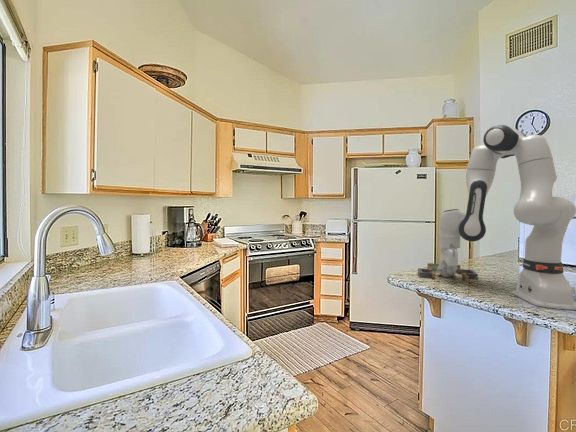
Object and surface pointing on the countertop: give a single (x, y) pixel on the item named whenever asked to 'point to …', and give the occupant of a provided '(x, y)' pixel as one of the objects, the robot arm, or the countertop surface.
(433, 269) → the trap lane
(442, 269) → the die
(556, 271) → the robot arm
